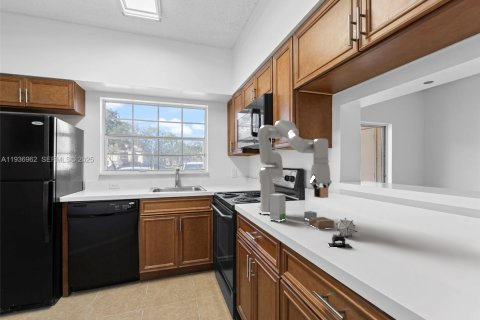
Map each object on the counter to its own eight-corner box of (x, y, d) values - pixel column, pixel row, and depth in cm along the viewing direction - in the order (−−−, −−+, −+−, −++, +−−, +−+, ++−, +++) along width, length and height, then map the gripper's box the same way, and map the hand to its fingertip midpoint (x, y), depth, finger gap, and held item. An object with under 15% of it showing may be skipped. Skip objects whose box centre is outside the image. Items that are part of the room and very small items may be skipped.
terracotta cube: (314, 196, 122) (314, 187, 122) (321, 196, 124) (320, 187, 125) (321, 198, 118) (321, 188, 118) (328, 197, 120) (328, 187, 120)
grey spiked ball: (344, 245, 103) (332, 228, 102) (341, 233, 111) (330, 217, 110) (363, 238, 99) (351, 220, 98) (359, 226, 107) (348, 210, 106)
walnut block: (308, 226, 124) (308, 217, 124) (323, 225, 126) (323, 216, 126) (318, 230, 115) (318, 221, 115) (334, 229, 117) (333, 220, 118)
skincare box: (279, 222, 130) (279, 195, 130) (269, 220, 134) (269, 194, 134) (286, 220, 136) (286, 193, 137) (276, 218, 140) (276, 193, 141)
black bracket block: (351, 244, 95) (351, 233, 95) (358, 250, 88) (358, 238, 88) (320, 243, 96) (320, 232, 96) (325, 249, 89) (325, 237, 89)
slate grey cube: (304, 220, 137) (304, 211, 137) (310, 219, 139) (310, 211, 139) (310, 221, 132) (310, 213, 133) (316, 221, 135) (316, 212, 135)
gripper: (326, 162, 129) (327, 194, 128) (303, 161, 121) (303, 196, 121) (337, 162, 122) (338, 196, 121) (314, 161, 114) (314, 198, 114)
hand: (321, 195), depth 121 cm, fingers closed on terracotta cube, 5 cm apart
